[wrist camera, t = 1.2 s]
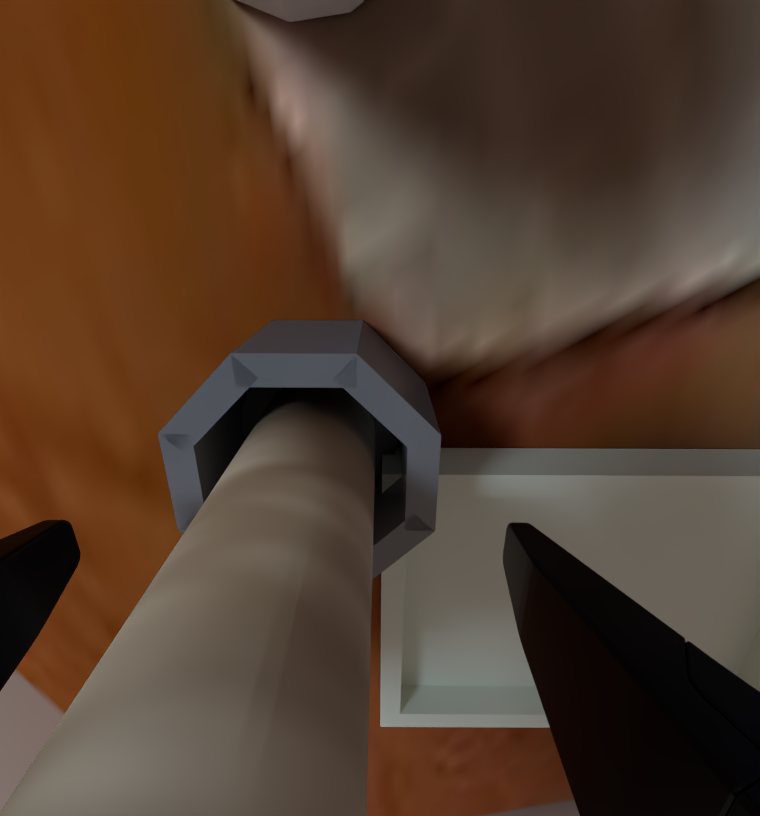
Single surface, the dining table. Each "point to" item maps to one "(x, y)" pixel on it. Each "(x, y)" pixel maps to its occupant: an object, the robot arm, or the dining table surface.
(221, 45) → the dining table surface
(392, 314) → the dining table surface
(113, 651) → the pin
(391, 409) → the pen cup
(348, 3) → the white cup
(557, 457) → the tray
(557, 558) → the robot arm
